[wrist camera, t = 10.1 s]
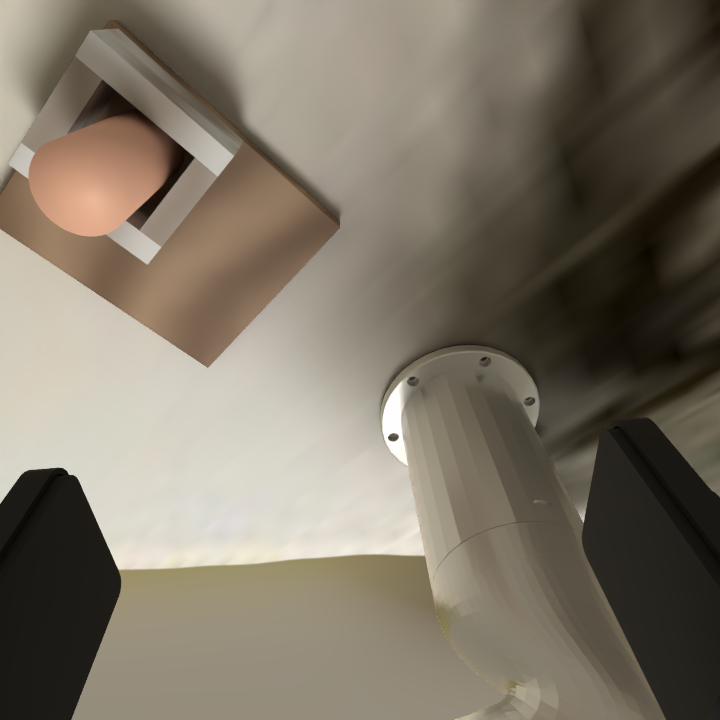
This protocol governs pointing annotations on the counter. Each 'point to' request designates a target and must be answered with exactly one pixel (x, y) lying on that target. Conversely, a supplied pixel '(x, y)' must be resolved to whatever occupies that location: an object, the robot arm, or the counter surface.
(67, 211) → the peg
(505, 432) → the robot arm
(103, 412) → the counter surface
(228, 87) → the counter surface
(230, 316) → the socket board
